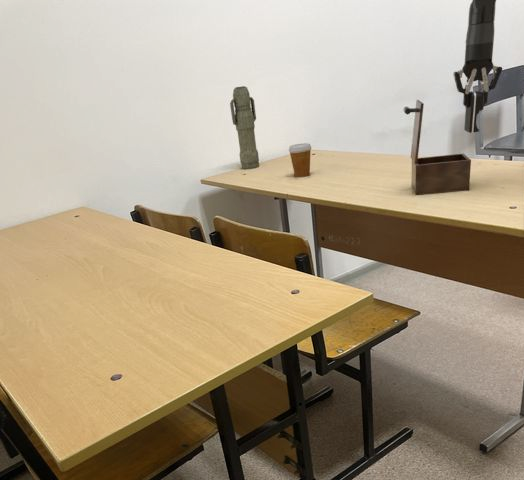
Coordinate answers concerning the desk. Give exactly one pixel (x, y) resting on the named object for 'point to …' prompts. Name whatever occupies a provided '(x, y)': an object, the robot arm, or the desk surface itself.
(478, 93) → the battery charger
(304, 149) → the disposable coffee cup
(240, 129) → the stone idol statue
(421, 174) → the chest
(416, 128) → the lid
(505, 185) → the desk surface
